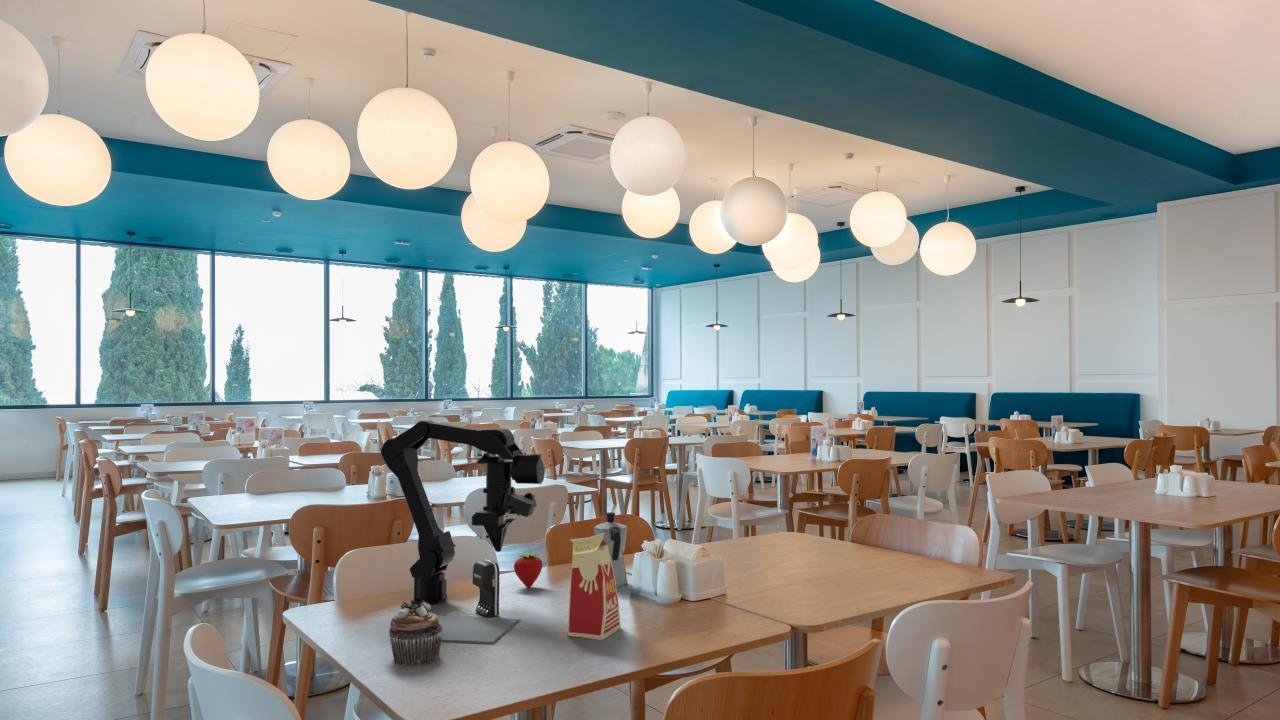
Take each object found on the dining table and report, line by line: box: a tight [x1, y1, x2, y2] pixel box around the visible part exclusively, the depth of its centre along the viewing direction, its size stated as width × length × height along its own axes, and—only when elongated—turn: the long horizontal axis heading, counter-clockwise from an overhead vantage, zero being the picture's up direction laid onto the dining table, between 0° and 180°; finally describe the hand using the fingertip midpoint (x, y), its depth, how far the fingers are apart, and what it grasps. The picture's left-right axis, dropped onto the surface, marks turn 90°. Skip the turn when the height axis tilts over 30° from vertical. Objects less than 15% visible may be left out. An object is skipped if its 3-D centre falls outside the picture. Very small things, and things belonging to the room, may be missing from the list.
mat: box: [437, 615, 520, 645], centre depth 165 cm, size 18×16×1 cm
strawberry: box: [513, 546, 544, 588], centre depth 201 cm, size 6×8×10 cm
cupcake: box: [388, 600, 444, 666], centre depth 148 cm, size 10×10×10 cm
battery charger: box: [472, 559, 500, 618], centre depth 177 cm, size 7×4×11 cm, turn 36°
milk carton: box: [567, 533, 622, 641], centre depth 164 cm, size 9×9×20 cm
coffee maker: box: [593, 511, 629, 588], centre depth 204 cm, size 15×9×18 cm, turn 14°
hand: (498, 551), depth 185 cm, fingers closed
